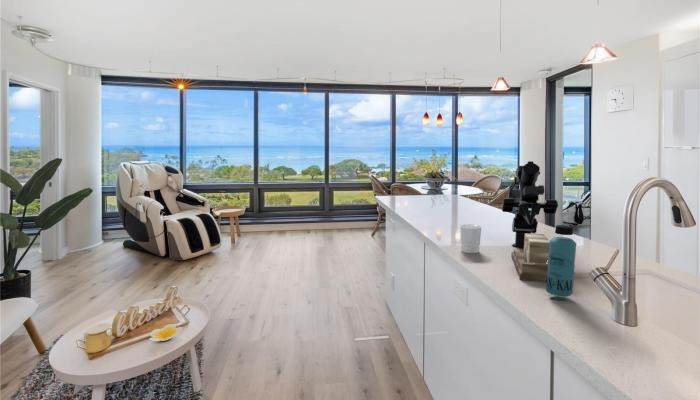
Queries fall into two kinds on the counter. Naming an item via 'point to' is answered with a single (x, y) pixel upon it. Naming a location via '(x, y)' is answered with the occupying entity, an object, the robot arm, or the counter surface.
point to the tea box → (536, 248)
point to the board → (527, 276)
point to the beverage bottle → (561, 263)
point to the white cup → (470, 238)
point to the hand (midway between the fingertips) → (530, 224)
